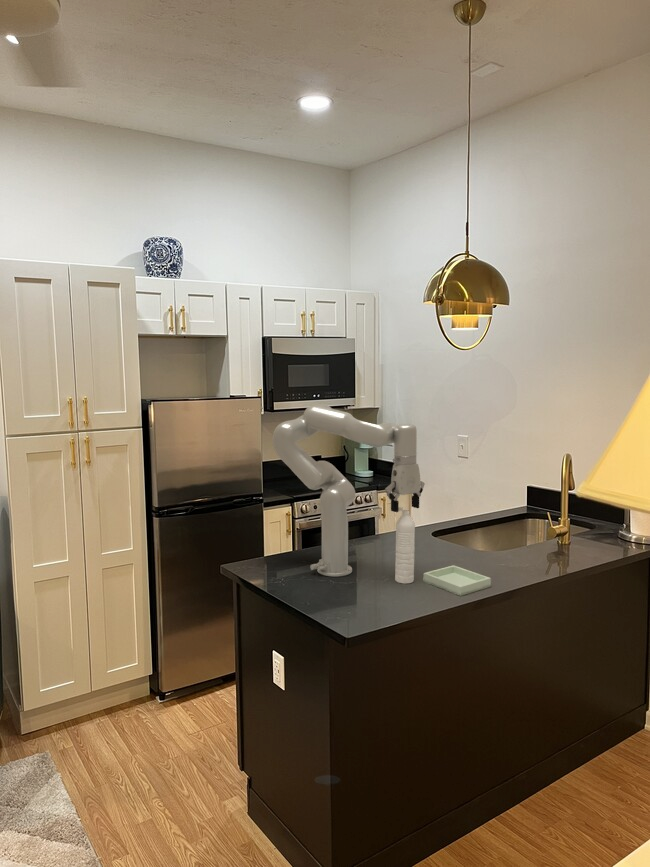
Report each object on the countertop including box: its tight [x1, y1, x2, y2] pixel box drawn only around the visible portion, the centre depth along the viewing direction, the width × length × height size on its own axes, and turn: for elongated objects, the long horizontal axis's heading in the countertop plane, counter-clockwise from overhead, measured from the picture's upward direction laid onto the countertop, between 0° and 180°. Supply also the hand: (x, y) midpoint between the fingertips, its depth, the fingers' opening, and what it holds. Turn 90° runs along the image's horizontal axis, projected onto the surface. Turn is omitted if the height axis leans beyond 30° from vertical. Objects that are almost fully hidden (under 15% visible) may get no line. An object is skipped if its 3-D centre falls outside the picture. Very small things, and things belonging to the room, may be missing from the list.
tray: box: [422, 564, 492, 597], centre depth 222 cm, size 15×17×3 cm
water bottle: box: [394, 506, 416, 584], centre depth 225 cm, size 9×6×25 cm
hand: (405, 509), depth 224 cm, fingers open, 9 cm apart
